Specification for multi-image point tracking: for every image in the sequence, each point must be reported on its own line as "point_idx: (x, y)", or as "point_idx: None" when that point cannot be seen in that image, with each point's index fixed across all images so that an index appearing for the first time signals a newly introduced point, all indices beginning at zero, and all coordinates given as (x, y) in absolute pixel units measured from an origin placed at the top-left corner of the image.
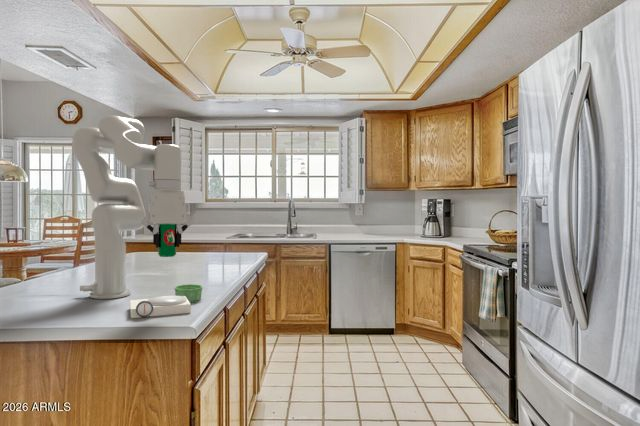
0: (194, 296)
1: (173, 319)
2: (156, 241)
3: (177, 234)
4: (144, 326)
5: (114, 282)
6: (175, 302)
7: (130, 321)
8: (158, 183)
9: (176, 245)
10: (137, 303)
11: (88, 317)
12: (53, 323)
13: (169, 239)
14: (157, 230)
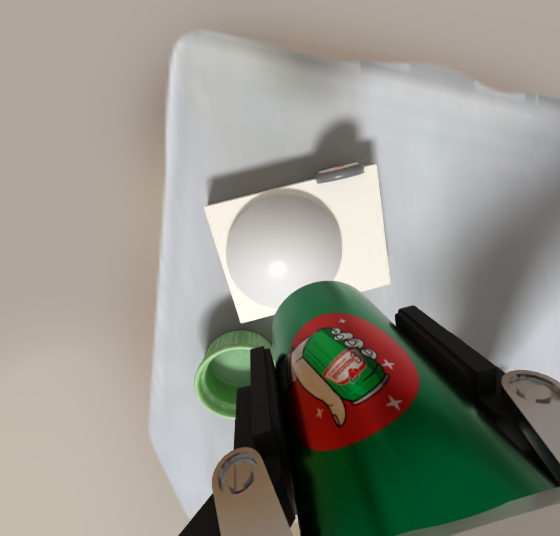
0: (217, 342)
1: (245, 130)
2: (440, 326)
3: (271, 426)
4: (316, 60)
5: None
6: (252, 209)
7: (361, 130)
8: None
9: (272, 361)
10: (366, 238)
11: (467, 195)
12: (538, 146)
13: (337, 342)
14: (524, 413)
